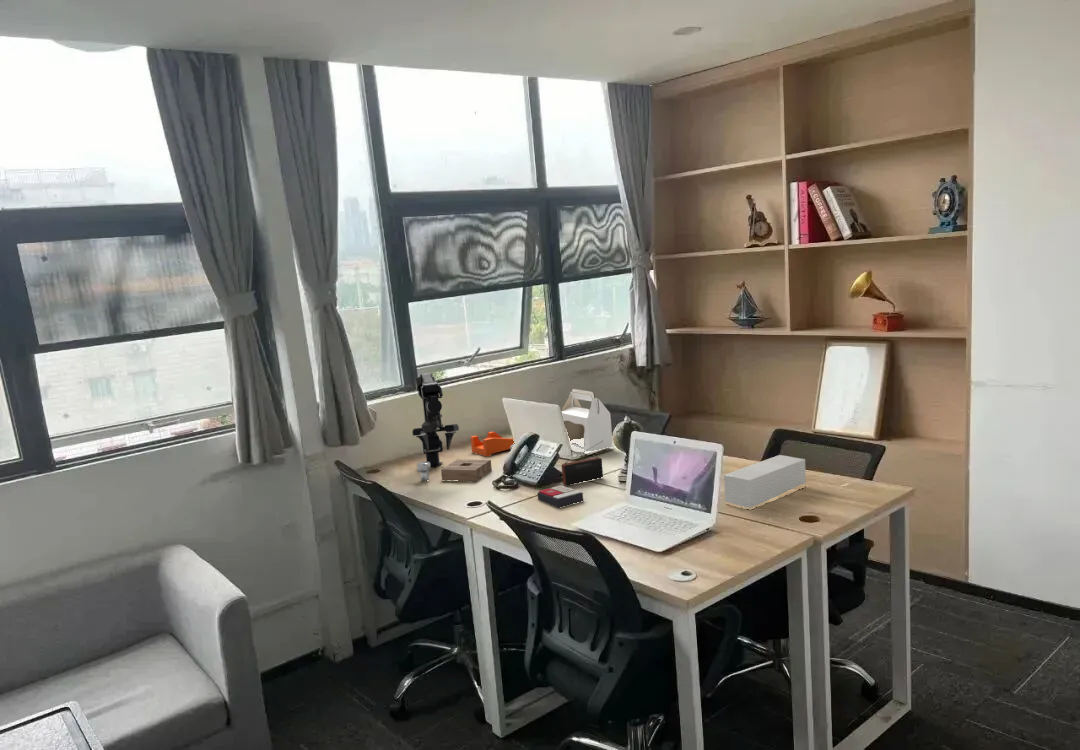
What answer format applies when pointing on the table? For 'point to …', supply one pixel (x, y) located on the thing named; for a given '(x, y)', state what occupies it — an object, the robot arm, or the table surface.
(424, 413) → the robot arm
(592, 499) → the table surface
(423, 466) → the steel peg
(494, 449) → the tape dispenser
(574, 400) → the gable box
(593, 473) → the radio
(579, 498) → the flat rectangular box
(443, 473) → the walnut block
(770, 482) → the grey rectangular block
